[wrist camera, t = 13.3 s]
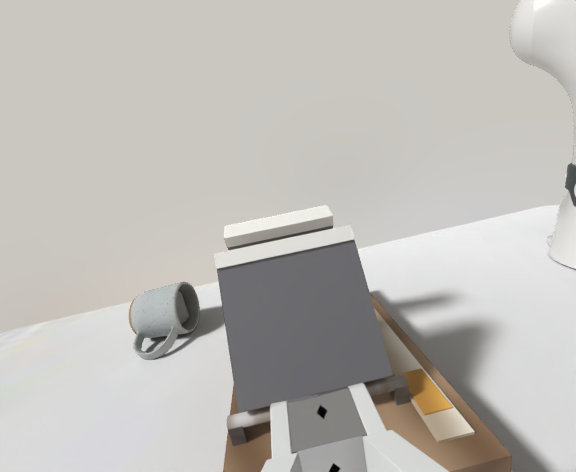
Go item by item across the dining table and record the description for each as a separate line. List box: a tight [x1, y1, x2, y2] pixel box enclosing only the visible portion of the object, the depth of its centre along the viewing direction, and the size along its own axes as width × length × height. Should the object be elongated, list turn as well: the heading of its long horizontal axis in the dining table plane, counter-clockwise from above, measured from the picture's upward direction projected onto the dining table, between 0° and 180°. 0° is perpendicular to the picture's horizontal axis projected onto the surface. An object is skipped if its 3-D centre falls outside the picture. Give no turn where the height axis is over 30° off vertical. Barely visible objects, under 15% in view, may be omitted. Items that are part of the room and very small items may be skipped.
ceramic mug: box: [129, 282, 200, 360], centre depth 40 cm, size 11×8×8 cm
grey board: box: [214, 225, 393, 413], centre depth 21 cm, size 11×2×11 cm, turn 96°
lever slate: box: [224, 205, 333, 250], centre depth 31 cm, size 11×2×11 cm, turn 96°
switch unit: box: [223, 292, 512, 472], centre depth 28 cm, size 17×26×6 cm, turn 6°
